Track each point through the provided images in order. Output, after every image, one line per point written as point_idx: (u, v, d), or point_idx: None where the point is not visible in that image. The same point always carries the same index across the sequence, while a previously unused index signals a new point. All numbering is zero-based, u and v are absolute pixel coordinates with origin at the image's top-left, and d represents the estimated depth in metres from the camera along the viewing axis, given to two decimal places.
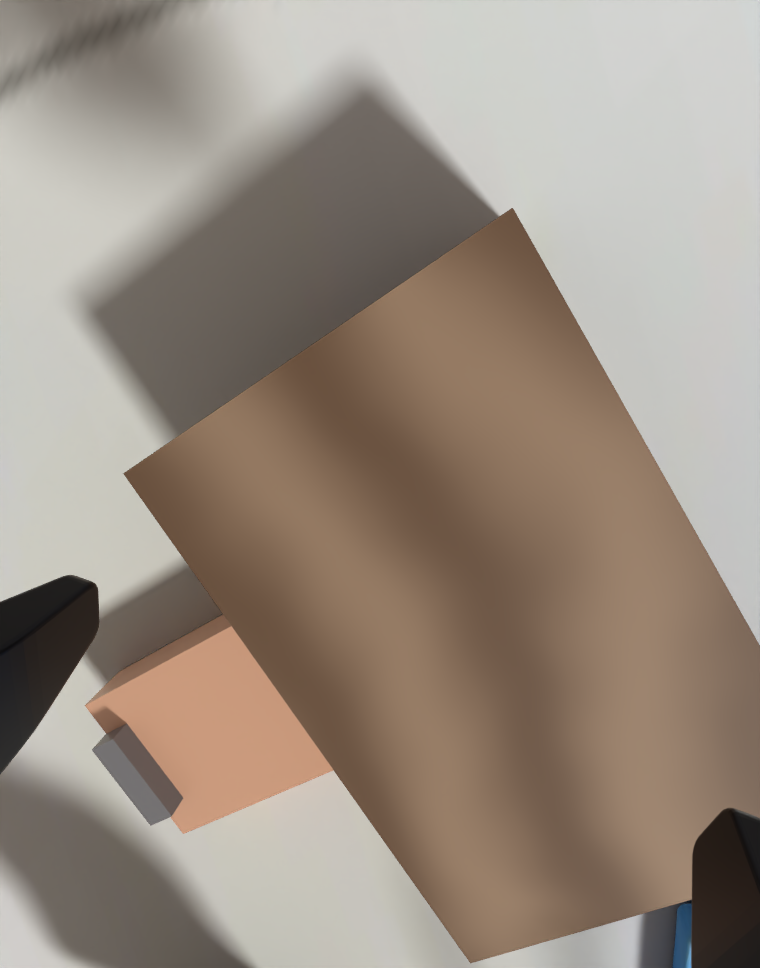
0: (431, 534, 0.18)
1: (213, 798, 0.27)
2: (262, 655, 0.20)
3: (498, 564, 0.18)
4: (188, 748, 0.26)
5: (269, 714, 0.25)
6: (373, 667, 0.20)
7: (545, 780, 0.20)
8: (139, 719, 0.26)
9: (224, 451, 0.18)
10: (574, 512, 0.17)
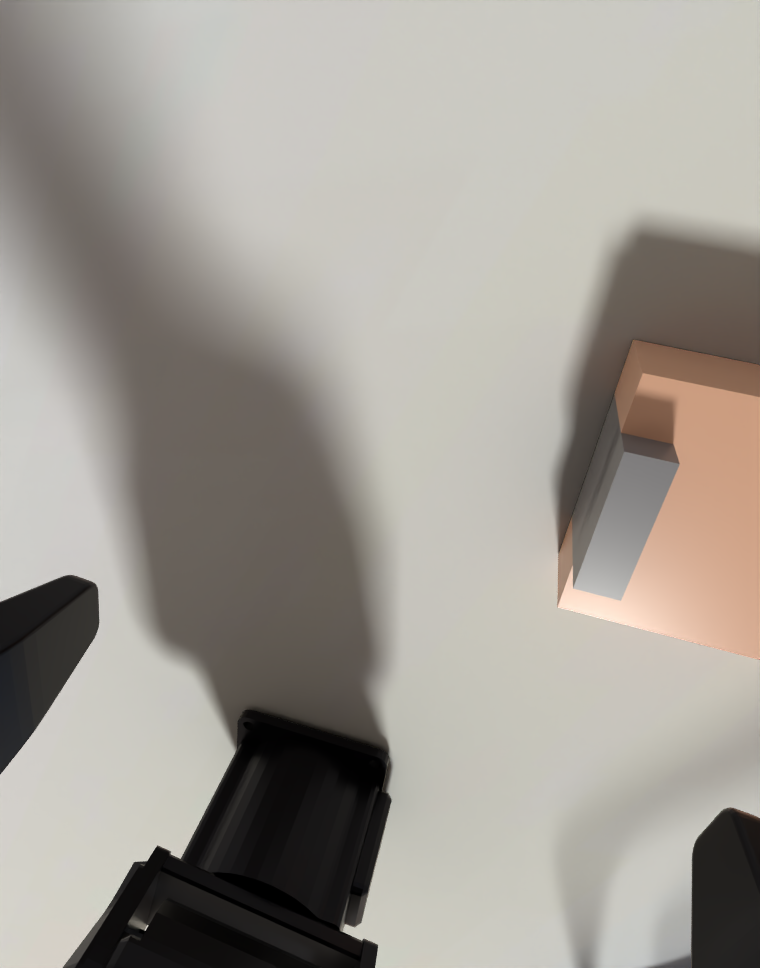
0: None
1: (658, 605, 0.17)
2: None
3: None
4: (716, 535, 0.16)
5: None
6: None
7: None
8: (700, 454, 0.15)
9: None
10: None
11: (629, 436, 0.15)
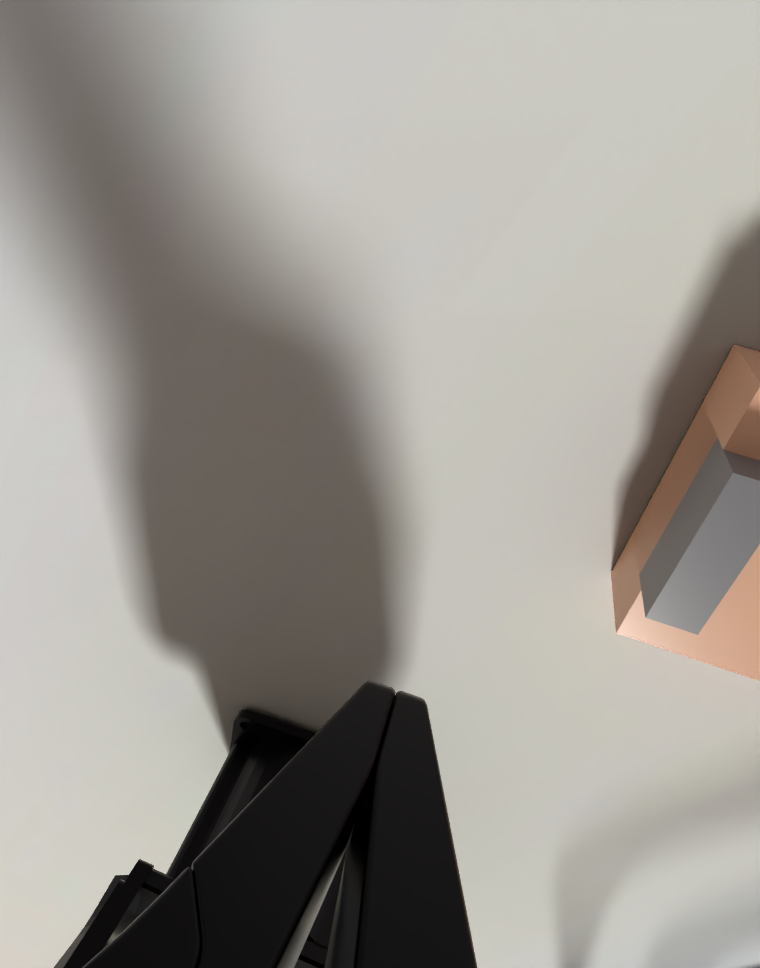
0: None
1: (730, 640, 0.16)
2: None
3: None
4: None
5: None
6: None
7: None
8: None
9: None
10: None
11: (733, 454, 0.13)
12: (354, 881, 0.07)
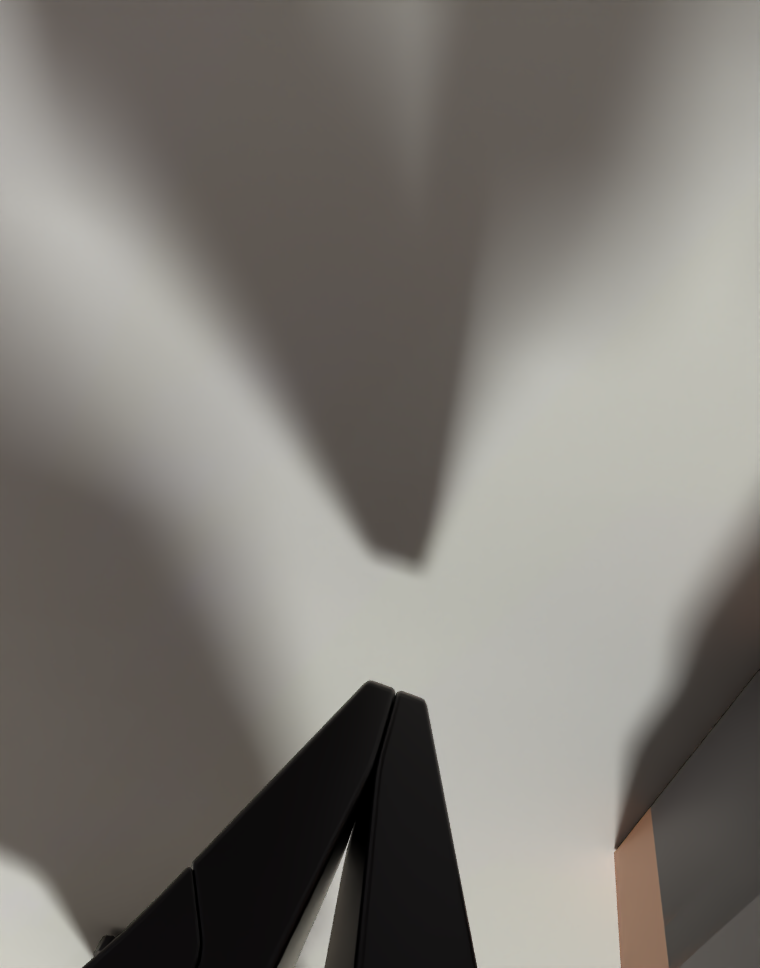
0: None
1: None
2: None
3: None
4: None
5: None
6: None
7: None
8: None
9: None
10: None
11: None
12: (354, 881, 0.07)
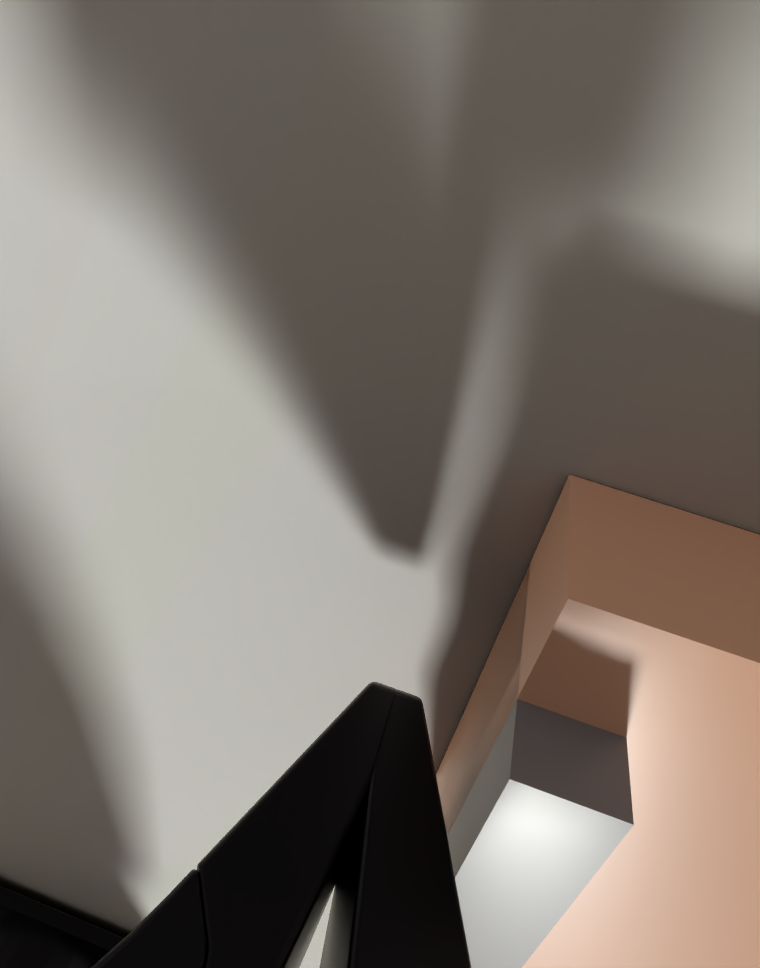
0: None
1: (579, 963, 0.09)
2: None
3: None
4: (697, 894, 0.08)
5: None
6: None
7: None
8: (681, 764, 0.07)
9: None
10: None
11: (533, 713, 0.07)
12: (349, 879, 0.07)
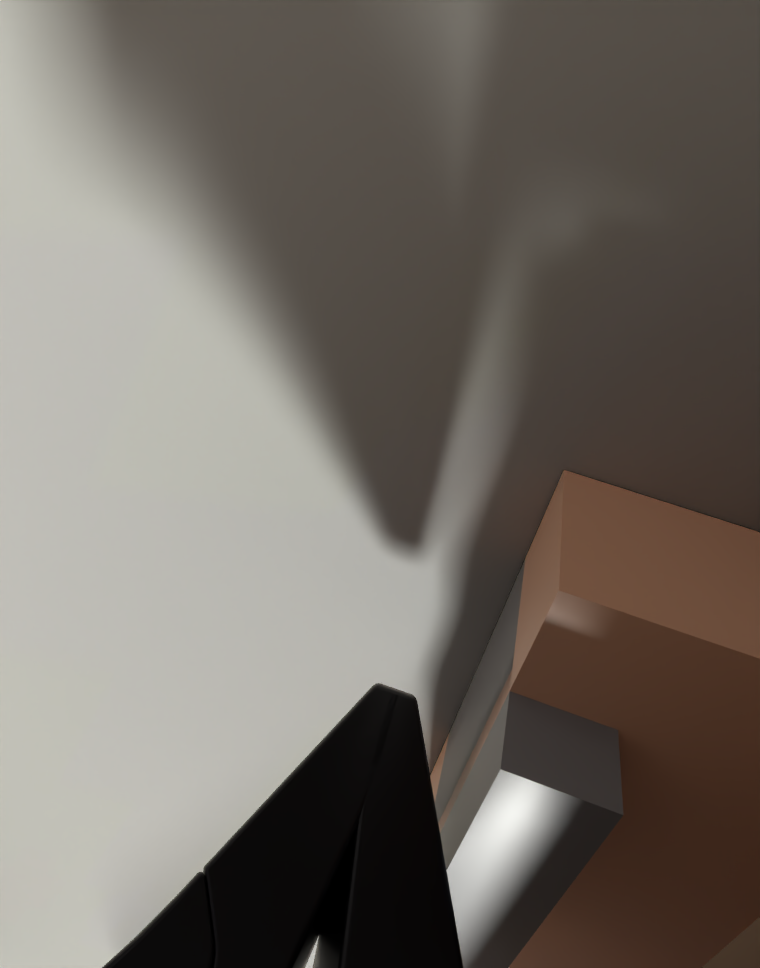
0: None
1: (573, 958, 0.09)
2: None
3: None
4: (689, 888, 0.08)
5: None
6: None
7: None
8: (673, 756, 0.07)
9: None
10: None
11: (525, 705, 0.07)
12: (342, 876, 0.07)
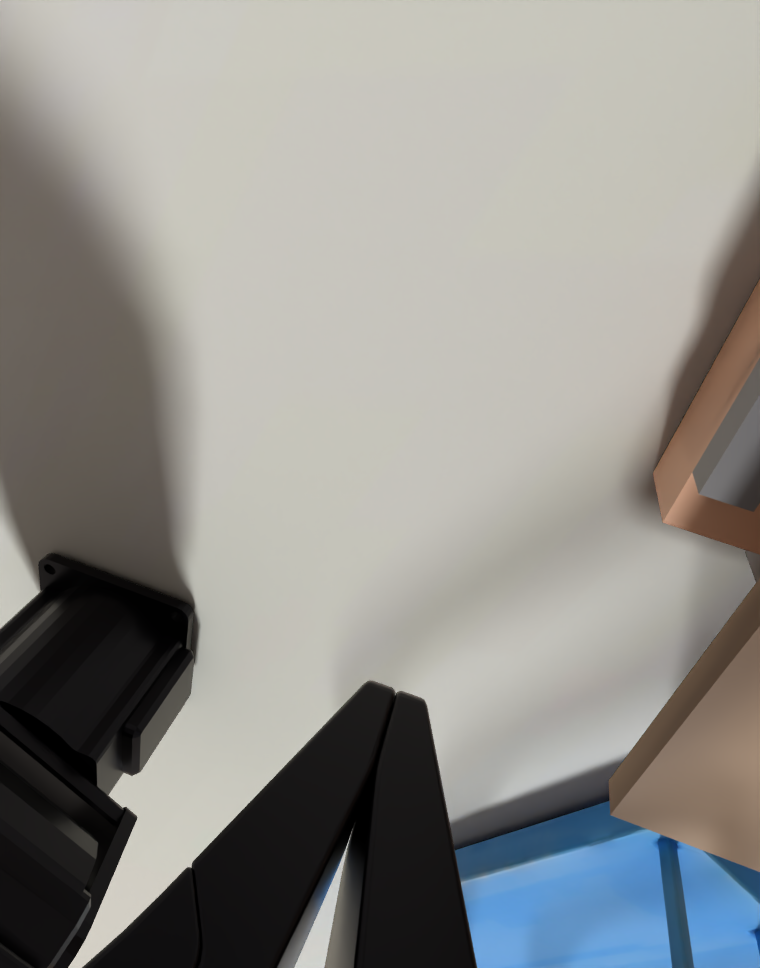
0: None
1: None
2: None
3: None
4: None
5: None
6: None
7: None
8: None
9: None
10: None
11: None
12: (354, 881, 0.07)
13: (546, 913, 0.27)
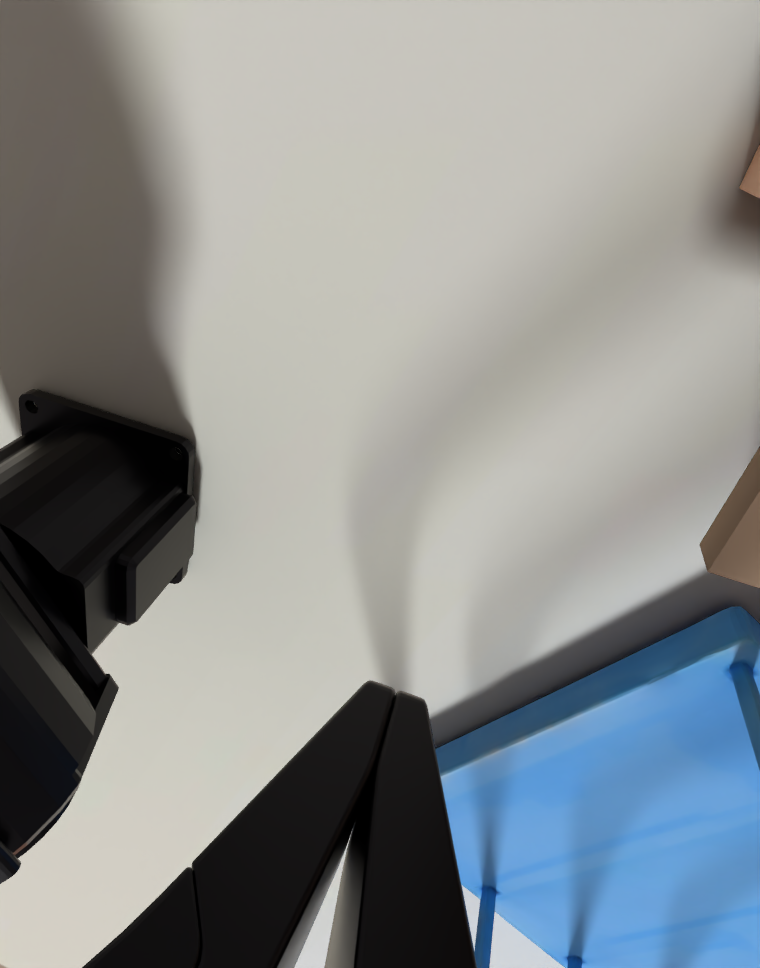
0: None
1: None
2: None
3: None
4: None
5: None
6: None
7: None
8: None
9: None
10: None
11: None
12: (354, 881, 0.07)
13: (594, 782, 0.23)
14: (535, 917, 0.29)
